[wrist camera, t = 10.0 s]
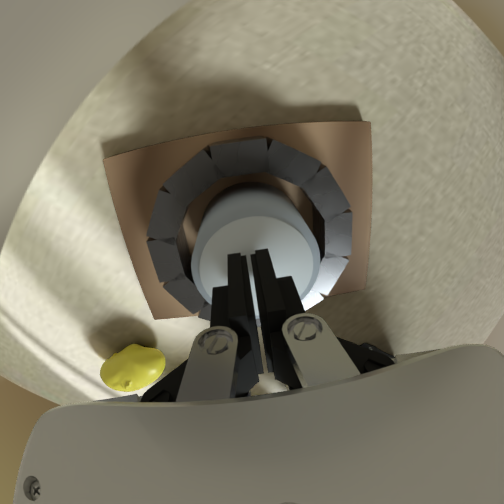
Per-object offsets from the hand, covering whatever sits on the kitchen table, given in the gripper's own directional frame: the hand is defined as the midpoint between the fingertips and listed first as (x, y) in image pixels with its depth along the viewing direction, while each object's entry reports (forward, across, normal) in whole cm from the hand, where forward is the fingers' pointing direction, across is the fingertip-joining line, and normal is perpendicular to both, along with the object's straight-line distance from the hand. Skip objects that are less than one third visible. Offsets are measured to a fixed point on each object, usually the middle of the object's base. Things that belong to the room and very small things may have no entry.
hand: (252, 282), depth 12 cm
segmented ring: (+7, 0, 0) cm, 7 cm away
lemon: (+7, +12, +11) cm, 18 cm away
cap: (+6, 0, 0) cm, 6 cm away
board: (+7, 0, 0) cm, 7 cm away
